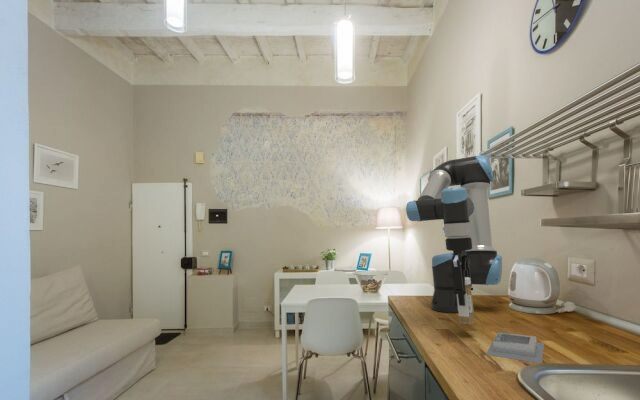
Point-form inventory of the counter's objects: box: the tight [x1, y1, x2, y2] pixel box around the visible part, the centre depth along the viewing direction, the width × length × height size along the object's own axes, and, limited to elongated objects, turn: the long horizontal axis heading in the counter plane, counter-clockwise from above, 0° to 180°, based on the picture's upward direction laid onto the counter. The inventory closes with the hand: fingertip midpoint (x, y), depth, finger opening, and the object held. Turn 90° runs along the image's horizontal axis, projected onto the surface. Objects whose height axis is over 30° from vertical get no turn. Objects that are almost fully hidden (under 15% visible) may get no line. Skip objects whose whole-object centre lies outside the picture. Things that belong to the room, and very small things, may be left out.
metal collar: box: [492, 331, 537, 357], centre depth 86 cm, size 9×9×2 cm
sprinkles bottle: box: [456, 277, 476, 325], centre depth 99 cm, size 5×5×13 cm
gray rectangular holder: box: [485, 341, 545, 365], centre depth 86 cm, size 16×12×1 cm
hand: (465, 313), depth 99 cm, fingers closed on sprinkles bottle, 4 cm apart
